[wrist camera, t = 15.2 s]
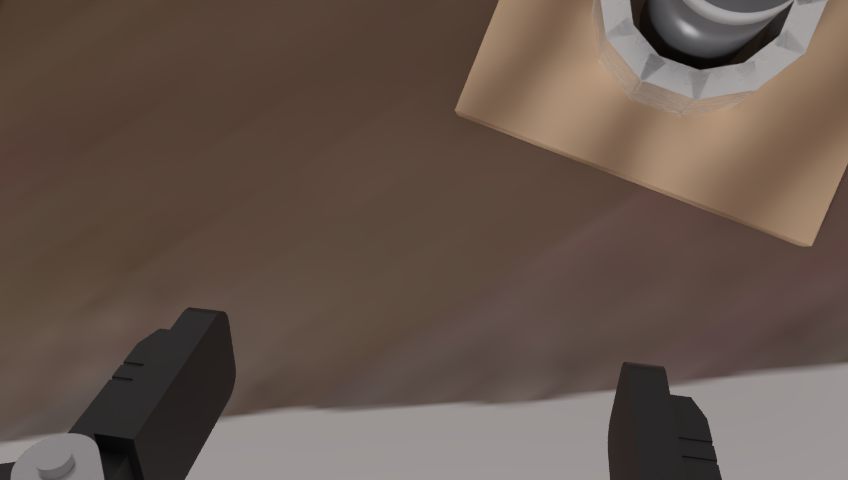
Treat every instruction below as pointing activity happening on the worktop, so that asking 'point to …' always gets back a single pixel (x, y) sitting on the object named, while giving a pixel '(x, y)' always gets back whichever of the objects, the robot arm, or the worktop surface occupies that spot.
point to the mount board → (672, 117)
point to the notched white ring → (688, 86)
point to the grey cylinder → (705, 28)
